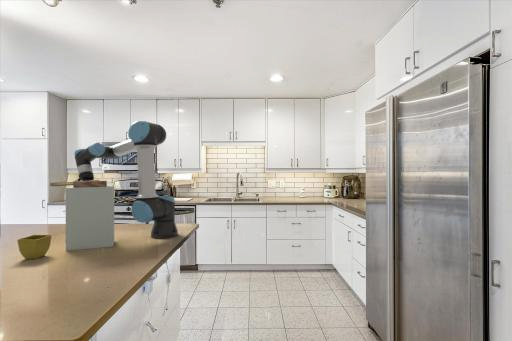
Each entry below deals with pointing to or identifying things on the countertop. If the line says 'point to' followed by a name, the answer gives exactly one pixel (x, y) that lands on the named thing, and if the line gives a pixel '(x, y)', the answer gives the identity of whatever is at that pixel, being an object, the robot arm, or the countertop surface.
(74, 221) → the stand
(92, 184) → the T-bar
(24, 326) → the countertop surface
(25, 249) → the flower pot
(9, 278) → the countertop surface
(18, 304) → the countertop surface
